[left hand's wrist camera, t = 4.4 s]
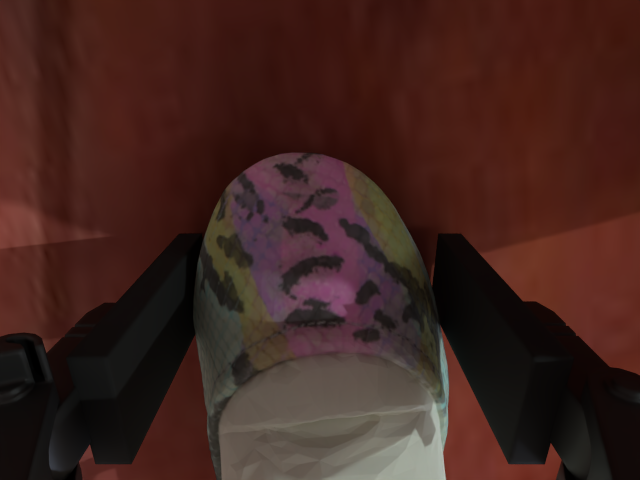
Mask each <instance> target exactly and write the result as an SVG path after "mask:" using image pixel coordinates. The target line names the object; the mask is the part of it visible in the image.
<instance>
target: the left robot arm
mask: <svg viewBox="0 0 640 480" xmlns="http://www.w3.org/2000/svg"><path fill="white" fill-rule="evenodd" d="M202 243H203V239H202V234H179V235H178V236H177V237H176V238H175V239H174V240H173V241H172V242H171V243H170V244H169V246H168V247H167V248H166V249H165V250H164V251H163V252H162V253H161V254H160V255H159V256H158V258H157V259H156V260H155V261H154V262H153V263H152V264H151V265H150V266H149V267H148V268H147V270H146V271H145V272H144V273H143V274H142V275H141V276H140V277H139V278H138V279H137V281H136V282H135V283H134V284H133V285H132V286H131V287H130V288H129V289H128V290H127V291H126V293H125V294H124V295H123V296H122V297H121V298H120V299H119V300H118V301H117V302H116V303H104V304H102V305H100V306H98V307H97V308H95V309H93V310H91V311H90V312H88V313H86V314H85V315H84V316H83V317H82V318H81V319H80V320H79V321H78V322H77V323H76V324H75V327H72V328H71V329H70V330H69V331H68V332H67V333H66V334H65V337H62V338H61V339H60V340H59V341H58V342H57V343H56V344H55V345H54V346H53V347H52V348H51V349H50V350H49V351H48V352H47V353H46V351H45V347H44V344H43V341H42V338H41V337H39V336H37V335H36V334H31V333H16V334H8V335H4V336H1V337H0V480H82V473H81V468H80V465H79V460H80V459H81V457H82V456H83V454H84V452H85V451H86V449H87V448H88V446H89V445H90V446H91V450H92V453H93V457H94V460H95V464H132V462H133V460H134V458H135V456H136V454H137V452H138V450H139V448H140V446H141V444H142V442H143V440H144V438H145V436H146V434H147V431H148V429H149V427H150V425H151V423H152V421H153V419H154V417H155V415H156V413H157V411H158V409H159V407H160V405H161V403H162V401H163V399H164V397H165V395H166V393H167V391H168V389H169V387H170V385H171V383H172V381H173V379H174V376H175V374H176V372H177V370H178V368H179V366H180V364H181V362H182V360H183V358H184V356H185V354H186V352H187V350H188V348H189V346H190V344H191V342H192V340H193V338H194V336H195V328H194V322H193V299H194V288H195V278H196V271H197V264H198V259H199V255H200V251H201V247H202ZM432 289H433V293H434V296H435V301H436V306H437V311H438V315H439V321H440V325H441V327H442V329H443V331H444V333H445V335H446V337H447V339H448V341H449V343H450V345H451V347H452V349H453V351H454V354H455V356H456V358H457V360H458V362H459V364H460V366H461V368H462V370H463V372H464V374H465V376H466V378H467V380H468V382H469V384H470V386H471V388H472V390H473V392H474V394H475V396H476V398H477V400H478V402H479V404H480V406H481V409H482V411H483V413H484V415H485V417H486V419H487V421H488V423H489V425H490V427H491V429H492V431H493V433H494V435H495V437H496V439H497V441H498V443H499V445H500V447H501V449H502V451H503V453H504V455H505V457H506V459H507V462H508V464H545V461H546V458H547V454H548V451H549V447H550V443H551V444H552V445H553V447H554V448H555V450H556V451H557V453H558V455H559V456H560V458H561V459H562V461H561V465H560V468H559V471H558V475H557V478H556V480H640V375H638V374H636V373H633V372H629V371H626V370H623V369H620V368H612V367H609V366H608V365H607V364H606V363H605V362H604V361H603V360H602V359H601V358H600V357H599V356H598V355H597V354H596V353H595V352H594V351H593V350H592V349H591V348H590V347H589V346H588V345H587V344H586V343H585V342H584V341H583V340H582V339H581V338H580V337H579V336H576V333H575V332H574V331H573V330H572V329H571V328H570V327H569V326H566V323H565V322H564V321H563V320H562V319H561V318H560V317H559V316H558V315H557V314H556V313H555V312H553V311H552V310H550V309H548V308H546V307H545V306H543V305H541V304H539V303H538V302H523V301H522V300H521V299H520V298H519V297H518V295H517V294H516V293H515V292H514V291H513V290H512V289H511V288H510V287H509V286H508V285H507V283H506V282H505V281H504V280H503V279H502V278H501V277H500V276H499V275H498V274H497V273H496V271H495V270H494V269H493V268H492V267H491V266H490V265H489V264H488V263H487V262H486V261H485V259H484V258H483V257H482V256H481V255H480V254H479V253H478V252H477V251H476V250H475V249H474V247H473V246H472V245H471V244H470V243H469V242H468V241H467V240H466V239H465V238H464V237H463V235H462V234H438V241H437V250H436V259H435V267H434V276H433V285H432Z"/></svg>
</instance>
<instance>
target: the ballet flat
mask: <svg viewBox="0 0 640 480" xmlns="http://www.w3.org/2000/svg"><path fill="white" fill-rule="evenodd" d="M193 322H194V328H195V334H196V341H197V348H198V354H199V360H200V366H201V372H202V382H203V388H204V398H205V405H206V409H207V414H208V416H207V432H208V440H209V449H210V451H211V459H212V462H213V466H214V470H215V473H216V479H217V480H446V478H445V469H444V459H443V450H444V445H445V440H446V436H447V428H448V408H447V407H448V396H449V378H448V368H447V360H446V354H445V349H444V343H443V338H442V333H441V327H440V321H439V315H438V311H437V306H436V301H435V296H434V293H433V289H432V286H431V283H430V279H429V276H428V272H427V270H426V267H425V265H424V262H423V260H422V257H421V255H420V252H419V250H418V248H417V246H416V244H415V243H414V241H413V239H412V237H411V235H410V233H409V231H408V229H407V228H406V226H405V224H404V223H403V221H402V219H401V217H400V216H399V214H398V212H397V210H396V209H395V207H394V206H393V204H392V203H391V201H390V200H389V199H388V197H387V196H386V195H385V194H384V193H383V191H382V190H381V189H380V188H379V187H378V186H377V185H376V184H375V183H374V182H373V181H372V180H371V179H370V178H368V177H367V176H366V175H365V174H363V173H362V172H361V171H359V170H358V169H356V168H354V167H353V166H351V165H350V164H348V163H346V162H343V161H341V160H338V159H335V158H332V157H329V156H326V155H323V154H317V153H284V154H279V155H275V156H272V157H269V158H266V159H263V160H261V161H259V162H258V163H256V164H254V165H252V166H251V167H249V168H248V169H246V170H245V171H243V172H242V173H241V174H240V175H239V176H238V177H237V178H235V179H234V180H233V181H232V182H231V183H230V184H229V185H228V186H227V188H226V189H225V190H224V191H223V193H222V195H221V197H220V199H219V201H218V203H217V205H216V207H215V209H214V212H213V214H212V217H211V219H210V222H209V225H208V228H207V231H206V234H205V237H204V239H203V243H202V247H201V251H200V255H199V259H198V264H197V271H196V278H195V288H194V299H193Z"/></svg>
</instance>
